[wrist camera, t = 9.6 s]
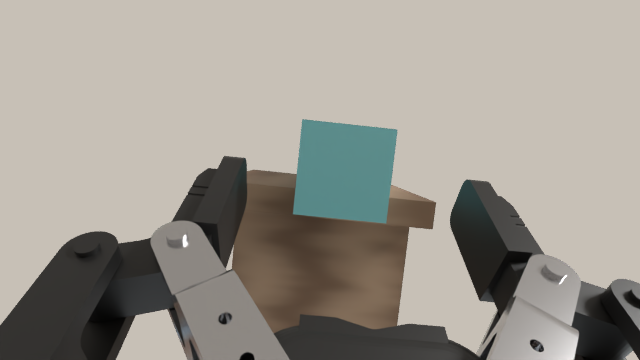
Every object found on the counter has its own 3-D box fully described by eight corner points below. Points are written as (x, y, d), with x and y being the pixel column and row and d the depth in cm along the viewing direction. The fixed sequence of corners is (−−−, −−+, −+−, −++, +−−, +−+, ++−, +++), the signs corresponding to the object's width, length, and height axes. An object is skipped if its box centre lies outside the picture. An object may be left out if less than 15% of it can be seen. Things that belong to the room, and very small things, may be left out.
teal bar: (292, 214, 11) (302, 119, 11) (305, 172, 35) (308, 142, 35) (386, 223, 11) (397, 129, 11) (335, 175, 35) (338, 145, 35)
